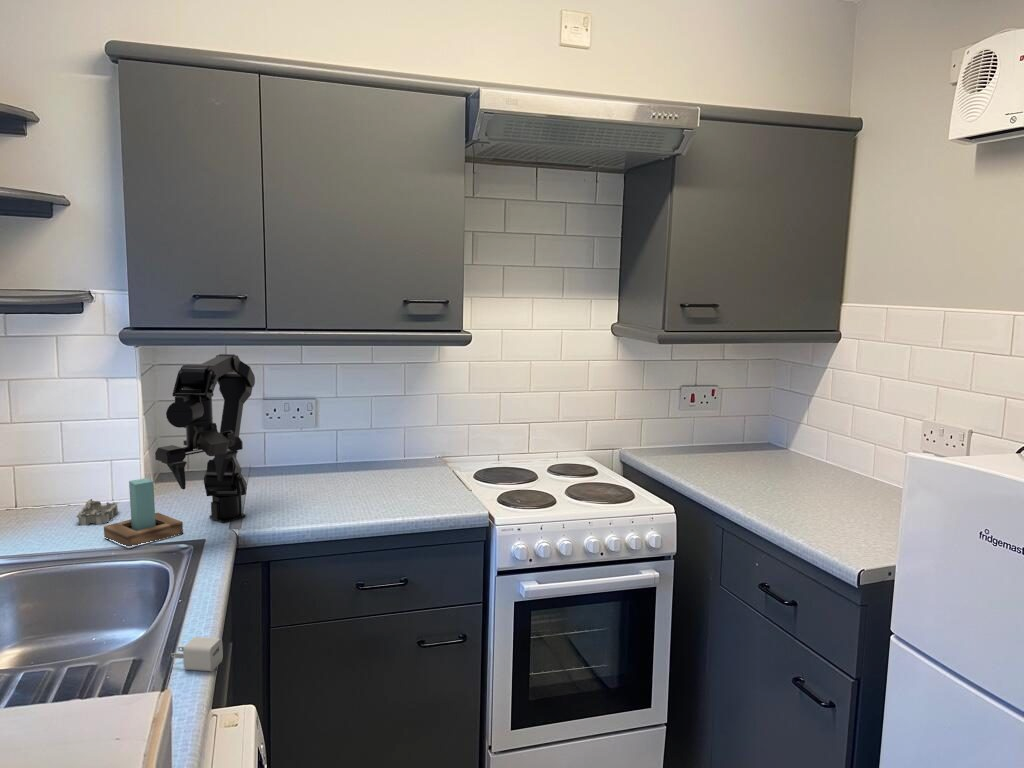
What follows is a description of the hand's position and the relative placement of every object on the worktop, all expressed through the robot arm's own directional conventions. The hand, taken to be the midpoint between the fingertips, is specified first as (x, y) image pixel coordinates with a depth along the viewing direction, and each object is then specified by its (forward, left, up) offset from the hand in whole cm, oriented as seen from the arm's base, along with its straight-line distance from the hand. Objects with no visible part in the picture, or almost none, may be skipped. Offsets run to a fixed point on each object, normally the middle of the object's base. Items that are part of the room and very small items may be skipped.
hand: (201, 484), depth 171 cm
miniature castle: (+8, -33, -14) cm, 37 cm away
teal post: (+8, -12, -13) cm, 19 cm away
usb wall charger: (+33, +51, -13) cm, 62 cm away
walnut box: (+8, -12, -13) cm, 19 cm away
